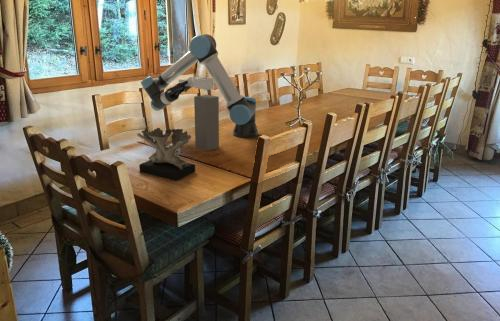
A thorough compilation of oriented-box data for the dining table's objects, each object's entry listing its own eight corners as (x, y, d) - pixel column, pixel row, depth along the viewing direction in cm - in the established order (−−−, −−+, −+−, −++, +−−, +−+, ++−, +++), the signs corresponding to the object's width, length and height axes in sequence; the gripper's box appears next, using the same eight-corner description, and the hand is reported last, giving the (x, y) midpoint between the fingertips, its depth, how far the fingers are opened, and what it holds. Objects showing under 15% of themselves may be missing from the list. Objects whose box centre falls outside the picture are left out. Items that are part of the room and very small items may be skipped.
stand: (195, 147, 224) (194, 96, 214) (207, 144, 230) (206, 94, 221) (207, 151, 218) (206, 99, 209) (218, 147, 225) (218, 96, 216)
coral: (201, 173, 187) (200, 128, 180) (171, 188, 171) (169, 138, 164) (160, 163, 200) (158, 120, 193) (128, 175, 183) (125, 129, 176)
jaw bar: (177, 84, 223) (177, 75, 221) (184, 83, 227) (184, 74, 225) (206, 90, 210) (206, 80, 208) (213, 88, 214) (213, 79, 212)
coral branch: (173, 166, 206) (165, 155, 198) (165, 156, 211) (157, 145, 202) (187, 156, 208) (181, 144, 200) (179, 146, 212) (172, 134, 204)
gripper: (183, 100, 239) (207, 83, 223) (161, 103, 227) (185, 87, 211) (178, 88, 239) (202, 70, 223) (156, 91, 227) (180, 73, 211)
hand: (194, 78), depth 217 cm, fingers closed on jaw bar, 3 cm apart
